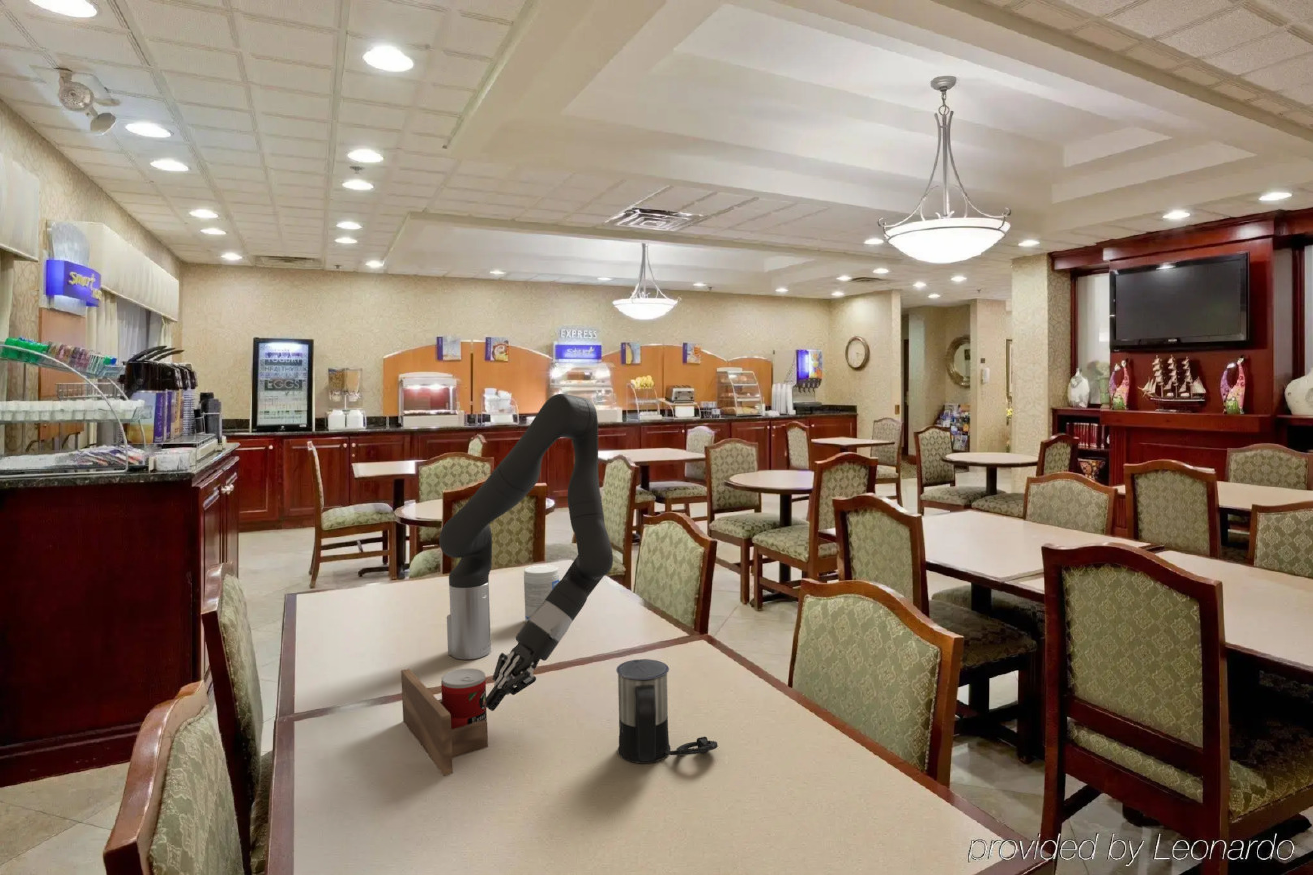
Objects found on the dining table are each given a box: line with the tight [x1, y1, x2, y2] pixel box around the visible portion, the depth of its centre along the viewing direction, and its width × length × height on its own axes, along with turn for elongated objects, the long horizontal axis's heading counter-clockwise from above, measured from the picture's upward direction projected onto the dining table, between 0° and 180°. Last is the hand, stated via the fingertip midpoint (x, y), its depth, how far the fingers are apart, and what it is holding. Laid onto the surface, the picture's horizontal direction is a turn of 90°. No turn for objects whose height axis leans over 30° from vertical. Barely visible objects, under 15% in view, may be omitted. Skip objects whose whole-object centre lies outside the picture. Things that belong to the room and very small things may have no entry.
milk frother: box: [615, 658, 719, 764], centre depth 122 cm, size 14×16×15 cm
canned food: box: [440, 667, 488, 729], centre depth 131 cm, size 8×8×11 cm
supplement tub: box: [523, 564, 560, 623], centre depth 194 cm, size 10×10×15 cm
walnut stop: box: [400, 668, 489, 776], centre depth 129 cm, size 10×24×10 cm, turn 35°
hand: (487, 707), depth 133 cm, fingers closed
